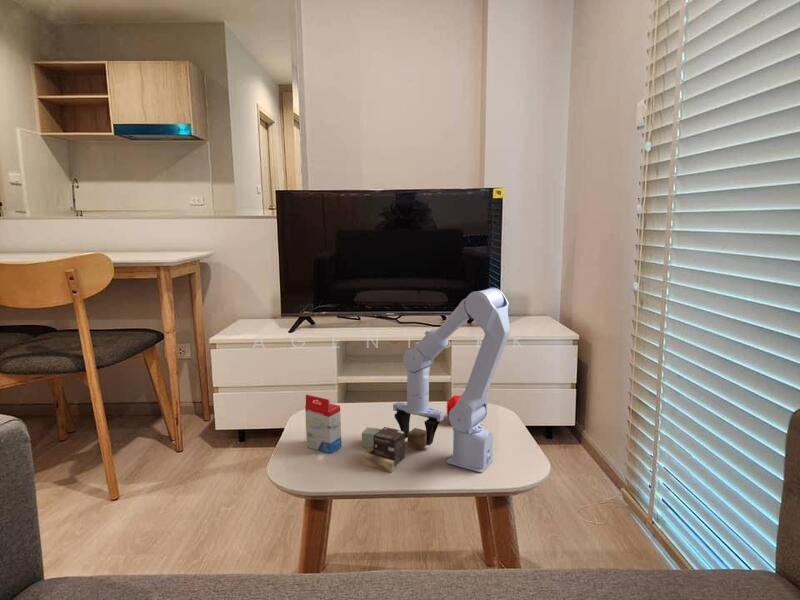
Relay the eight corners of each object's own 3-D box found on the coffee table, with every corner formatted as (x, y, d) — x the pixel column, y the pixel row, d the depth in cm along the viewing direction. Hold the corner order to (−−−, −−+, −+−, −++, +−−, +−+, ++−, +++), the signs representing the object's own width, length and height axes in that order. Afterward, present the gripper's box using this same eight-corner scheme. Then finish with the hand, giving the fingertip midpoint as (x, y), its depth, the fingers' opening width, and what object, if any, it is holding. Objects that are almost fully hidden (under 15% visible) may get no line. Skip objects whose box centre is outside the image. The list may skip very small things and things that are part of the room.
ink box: (342, 447, 128) (341, 394, 125) (330, 454, 123) (329, 400, 121) (317, 440, 132) (316, 389, 130) (305, 446, 128) (303, 394, 126)
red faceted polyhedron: (446, 416, 149) (446, 393, 148) (472, 417, 148) (472, 393, 147) (447, 427, 141) (448, 402, 140) (475, 427, 140) (475, 402, 139)
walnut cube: (427, 444, 129) (427, 431, 129) (420, 450, 126) (420, 436, 125) (414, 441, 131) (414, 427, 131) (407, 447, 128) (407, 433, 127)
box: (372, 462, 119) (372, 435, 118) (384, 453, 124) (384, 426, 123) (394, 468, 116) (394, 440, 115) (405, 458, 121) (405, 430, 120)
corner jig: (410, 457, 122) (410, 448, 121) (391, 472, 114) (391, 463, 114) (381, 449, 126) (381, 440, 126) (361, 463, 119) (361, 453, 118)
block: (380, 442, 130) (380, 428, 130) (375, 449, 127) (375, 434, 126) (367, 440, 132) (367, 427, 131) (361, 447, 128) (361, 432, 127)
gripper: (449, 392, 126) (448, 441, 128) (402, 383, 133) (402, 429, 135) (436, 400, 120) (436, 451, 122) (388, 390, 128) (388, 438, 129)
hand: (417, 440), depth 128 cm, fingers open, 7 cm apart
